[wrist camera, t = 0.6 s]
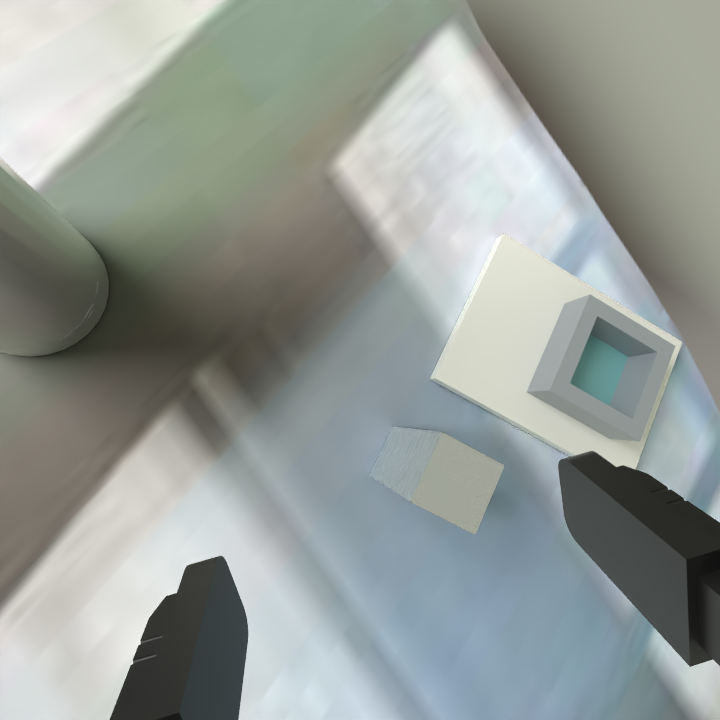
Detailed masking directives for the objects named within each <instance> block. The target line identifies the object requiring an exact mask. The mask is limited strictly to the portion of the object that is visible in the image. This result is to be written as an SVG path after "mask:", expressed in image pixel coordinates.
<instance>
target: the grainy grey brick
mask: <svg viewBox="0 0 720 720" xmlns="http://www.w3.org/2000/svg"><path fill="white" fill-rule="evenodd" d="M504 466H505V465H503V464H501V463H499V462H497V461H495V460H493V459H492V458H490V457H488V456H486V455H484V454H482V453H480V452H478V451H477V450H475V449H473V448H471V447H469V446H467V445H465V444H464V443H462V442H460V441H458V440H456V439H454V438H452V437H450V436H449V435H447V434H445V433H443V432H437V431H428V430H420V429H412V428H404V427H396V426H393V427H392V429H391V431H390V433H389V435H388V437H387V439H386V441H385V443H384V445H383V447H382V449H381V451H380V453H379V456H378V458H377V460H376V462H375V464H374V466H373V468H372V470H371V472H370V474H369V476H370V477H372V478H374V479H375V480H377V481H378V482H380V483H381V484H383V485H385V486H386V487H388V488H389V489H391V490H392V491H394V492H395V493H397V494H399V495H400V496H402V497H403V498H405V499H406V500H408V501H410V502H411V503H413V504H415V505H417V506H419V507H421V508H423V509H425V510H427V511H429V512H431V513H433V514H435V515H437V516H439V517H441V518H443V519H445V520H447V521H449V522H451V523H453V524H455V525H457V526H459V527H461V528H463V529H465V530H467V531H469V532H471V533H472V534H474V535H476V532H477V530H478V527H479V525H480V523H481V520H482V518H483V516H484V513H485V511H486V509H487V506H488V504H489V502H490V499H491V497H492V495H493V492H494V490H495V488H496V485H497V483H498V480H499V478H500V476H501V473H502V471H503V469H504Z"/></svg>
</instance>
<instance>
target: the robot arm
mask: <svg viewBox="0 0 720 720" xmlns="http://www.w3.org/2000/svg"><path fill="white" fill-rule="evenodd" d="M108 295H109V279H108V275H107V271H106V267H105V265H104V263H103V261H102V259H101V257H100V255H99V253H98V252H97V251H96V249H95V248H94V247H93V246H92V245H91V243H90V242H89V241H88V240H87V239H86V238H84V237H83V236H82V235H81V234H80V233H79V232H78V231H77V230H76V229H75V228H74V227H73V226H72V225H71V224H70V223H69V222H68V221H67V220H66V219H65V218H64V217H63V216H62V215H61V214H60V213H59V212H57V211H56V210H55V209H54V208H53V207H52V206H51V205H50V204H49V203H48V202H47V201H46V200H45V199H44V198H43V197H42V196H41V195H40V194H38V193H37V192H36V191H35V190H34V189H33V188H32V187H31V186H30V185H29V184H28V183H27V182H26V181H25V180H24V179H23V178H22V177H21V176H19V175H18V174H17V173H16V172H15V171H14V170H13V169H12V168H11V167H10V166H9V165H8V164H7V163H6V162H5V161H4V160H3V159H2V158H0V352H1V353H6V354H11V355H17V356H29V357H32V356H41V355H48V354H52V353H55V352H58V351H62V350H64V349H66V348H68V347H70V346H72V345H74V344H76V343H77V342H79V341H80V340H81V339H82V338H84V337H85V336H86V335H87V334H88V333H90V331H91V330H92V329H93V328H94V326H95V325H96V324H97V323H98V322H99V320H100V318H101V316H102V314H103V312H104V310H105V308H106V303H107V299H108ZM558 468H559V477H560V485H561V493H562V502H563V510H564V517H565V520H566V524H567V526H568V528H569V531H570V533H571V534H572V536H573V538H574V539H575V541H576V542H577V543H578V544H579V545H580V547H581V548H582V549H583V550H584V551H585V552H586V553H587V554H588V555H589V556H590V557H591V559H592V560H593V561H594V562H595V563H596V564H597V565H598V566H599V567H600V568H601V570H602V571H603V572H604V573H605V574H606V575H607V576H608V577H609V578H610V579H611V581H612V582H613V583H614V584H615V585H616V586H617V587H618V588H619V589H620V590H621V591H622V593H623V594H624V595H625V596H626V597H627V598H628V599H629V600H630V601H631V602H632V604H633V605H634V606H635V607H636V608H637V609H638V610H639V611H640V612H641V613H642V615H643V616H644V617H645V618H646V619H647V620H648V621H649V622H650V623H651V624H652V625H653V627H654V628H655V629H656V630H657V631H658V632H659V633H660V634H661V635H662V636H663V638H664V639H665V640H666V641H667V642H668V643H669V644H670V645H671V646H672V647H673V648H674V650H675V651H676V652H677V653H678V654H679V655H680V656H681V657H682V658H683V659H684V661H685V662H686V663H687V664H688V665H689V666H690V667H691V666H694V665H697V664H700V663H703V662H706V661H709V660H712V659H713V660H714V661H715V662H716V663H717V664H718V665H719V666H720V523H719V522H718V521H716V520H715V519H713V518H712V517H710V516H709V515H708V514H706V513H705V512H703V511H702V510H700V509H699V508H697V507H696V506H694V505H693V504H691V503H690V502H688V501H684V499H683V498H682V497H681V496H680V495H678V494H677V493H675V492H674V491H672V490H668V489H667V487H666V486H665V485H663V484H662V483H660V482H659V481H657V480H656V479H654V478H653V477H652V476H650V475H649V474H647V473H644V472H641V471H638V470H635V469H632V468H630V467H627V466H624V465H622V466H618V467H616V466H614V465H613V464H612V463H610V462H609V461H607V460H606V459H605V458H603V457H602V456H600V455H599V454H598V453H596V452H594V451H589V452H585V453H582V454H578V455H575V456H571V457H568V458H564V459H561V460H560V461H559V465H558ZM140 641H141V645H139V646H138V648H137V651H136V653H135V656H134V659H133V664H132V665H131V666H130V669H129V671H128V674H127V677H126V679H125V682H124V684H123V687H122V689H121V692H120V695H119V697H118V700H117V702H116V705H115V708H114V710H113V713H112V715H111V718H110V720H238V717H239V709H240V701H241V692H242V684H243V676H244V668H245V660H246V652H247V643H248V624H247V617H246V613H245V609H244V606H243V604H242V601H241V599H240V596H239V593H238V591H237V588H236V586H235V583H234V580H233V578H232V575H231V572H230V570H229V567H228V565H227V562H226V560H225V559H224V557H222V556H218V557H215V558H211V559H208V560H204V561H201V562H197V563H194V564H190V565H188V566H187V567H186V568H185V571H184V574H183V577H182V580H181V583H180V586H179V589H178V592H177V593H176V594H172V595H169V596H166V597H165V598H164V600H163V601H162V602H161V603H160V605H159V606H158V607H157V609H156V610H155V611H154V613H153V614H152V615H151V616H150V618H149V620H148V622H147V625H146V628H145V630H144V633H143V635H142V638H141V640H140Z"/></svg>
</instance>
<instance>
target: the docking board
mask: <svg viewBox="0 0 720 720" xmlns="http://www.w3.org/2000/svg"><path fill="white" fill-rule="evenodd" d="M681 345H682V342H681V341H680V340H678V339H677V338H675V337H673V336H672V335H670V334H668V333H667V332H665V331H663V330H662V329H660V328H658V327H657V326H655V325H654V324H652V323H650V322H649V321H647V320H645V319H644V318H642V317H640V316H639V315H637V314H635V313H634V312H632V311H631V310H629V309H627V308H626V307H624V306H622V305H621V304H619V303H617V302H616V301H614V300H612V299H611V298H609V297H608V296H606V295H604V294H603V293H601V292H599V291H598V290H596V289H594V288H593V287H591V286H589V285H588V284H586V283H585V282H583V281H581V280H580V279H578V278H576V277H575V276H573V275H571V274H570V273H568V272H566V271H565V270H563V269H562V268H560V267H558V266H557V265H555V264H553V263H552V262H550V261H548V260H547V259H545V258H543V257H542V256H540V255H539V254H537V253H535V252H534V251H532V250H530V249H529V248H527V247H525V246H524V245H522V244H520V243H519V242H517V241H516V240H514V239H512V238H511V237H509V236H507V235H506V234H502V235H501V236H500V237H498V238H497V239H496V241H495V243H494V245H493V247H492V249H491V252H490V254H489V256H488V258H487V260H486V262H485V264H484V266H483V268H482V270H481V273H480V275H479V277H478V279H477V281H476V283H475V285H474V287H473V289H472V291H471V294H470V296H469V298H468V300H467V302H466V304H465V306H464V308H463V310H462V312H461V315H460V317H459V319H458V321H457V323H456V325H455V327H454V329H453V331H452V333H451V335H450V338H449V340H448V342H447V344H446V346H445V348H444V350H443V352H442V354H441V356H440V359H439V361H438V363H437V365H436V367H435V369H434V371H433V373H432V375H431V377H430V380H432V381H434V382H436V383H438V384H440V385H441V386H443V387H445V388H447V389H449V390H450V391H452V392H454V393H456V394H458V395H460V396H461V397H463V398H465V399H467V400H469V401H471V402H472V403H474V404H476V405H478V406H480V407H481V408H483V409H485V410H487V411H489V412H491V413H492V414H494V415H496V416H498V417H500V418H501V419H503V420H505V421H507V422H509V423H511V424H512V425H514V426H516V427H518V428H520V429H522V430H523V431H525V432H527V433H529V434H531V435H532V436H534V437H536V438H538V439H540V440H542V441H543V442H545V443H547V444H549V445H551V446H552V447H554V448H556V449H558V450H560V451H562V452H563V453H565V454H567V455H569V456H575V455H578V454H582V453H585V452H589V451H594V452H596V453H598V454H599V455H600V456H602V457H603V458H605V459H606V460H607V461H609V462H610V463H612V464H613V465H614V466H616V467H618V466H622V465H624V466H627V467H630V468H632V469H635V470H636V467H637V464H638V462H639V459H640V456H641V453H642V451H643V448H644V445H645V443H646V440H647V437H648V434H649V432H650V429H651V426H652V423H653V421H654V418H655V415H656V413H657V410H658V407H659V404H660V402H661V399H662V396H663V394H664V391H665V388H666V385H667V383H668V380H669V377H670V374H671V372H672V369H673V366H674V364H675V361H676V358H677V355H678V353H679V350H680V347H681Z"/></svg>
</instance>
